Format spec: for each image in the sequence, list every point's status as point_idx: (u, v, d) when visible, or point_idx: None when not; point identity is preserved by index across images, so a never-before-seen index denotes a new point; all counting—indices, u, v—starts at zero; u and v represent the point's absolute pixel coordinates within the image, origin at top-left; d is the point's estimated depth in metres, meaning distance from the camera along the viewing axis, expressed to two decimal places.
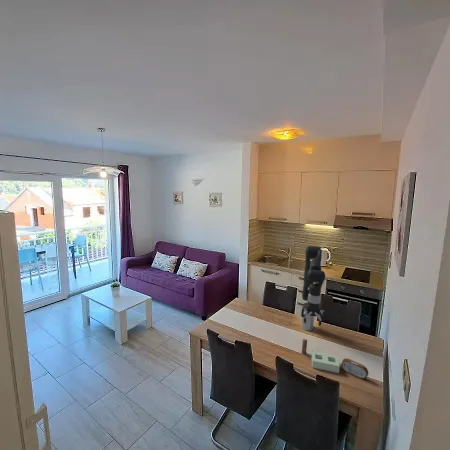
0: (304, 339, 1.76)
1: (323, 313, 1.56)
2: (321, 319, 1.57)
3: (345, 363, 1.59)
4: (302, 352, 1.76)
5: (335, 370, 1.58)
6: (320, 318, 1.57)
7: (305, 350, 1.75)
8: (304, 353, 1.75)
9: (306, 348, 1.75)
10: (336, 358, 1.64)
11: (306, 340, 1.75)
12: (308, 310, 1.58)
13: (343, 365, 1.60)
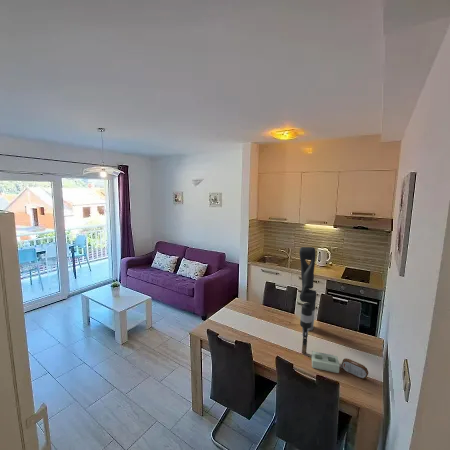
0: None
1: None
2: None
3: (345, 363, 1.59)
4: (302, 352, 1.76)
5: (335, 370, 1.58)
6: None
7: (305, 350, 1.75)
8: (304, 353, 1.75)
9: (306, 348, 1.75)
10: (336, 358, 1.64)
11: None
12: (307, 331, 1.70)
13: (343, 365, 1.60)
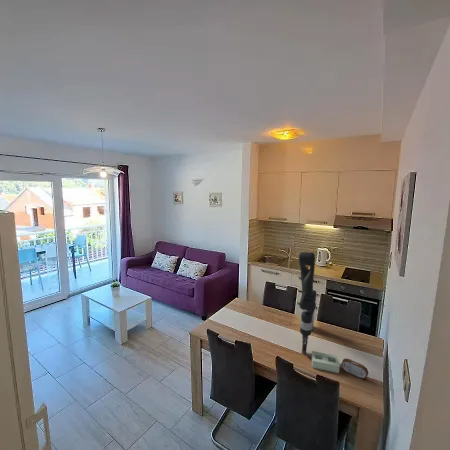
0: None
1: None
2: None
3: (345, 363, 1.59)
4: (302, 352, 1.76)
5: (335, 370, 1.58)
6: None
7: None
8: (304, 353, 1.75)
9: (306, 348, 1.75)
10: (336, 358, 1.64)
11: None
12: (307, 338, 1.71)
13: (343, 365, 1.60)
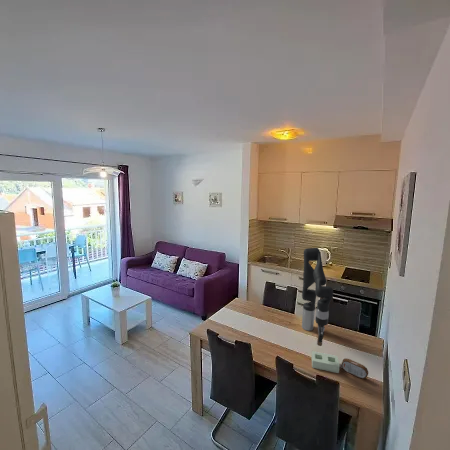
0: None
1: None
2: None
3: (345, 363, 1.59)
4: (318, 343, 1.63)
5: (335, 370, 1.58)
6: None
7: None
8: (320, 344, 1.62)
9: (322, 339, 1.62)
10: (336, 358, 1.64)
11: None
12: None
13: (343, 365, 1.60)
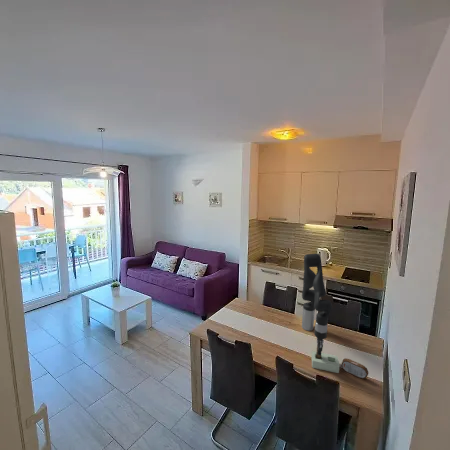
0: None
1: None
2: None
3: (345, 363, 1.59)
4: (317, 356, 1.65)
5: (335, 370, 1.58)
6: None
7: None
8: (319, 357, 1.64)
9: None
10: (336, 358, 1.64)
11: None
12: (322, 341, 1.60)
13: (343, 365, 1.60)
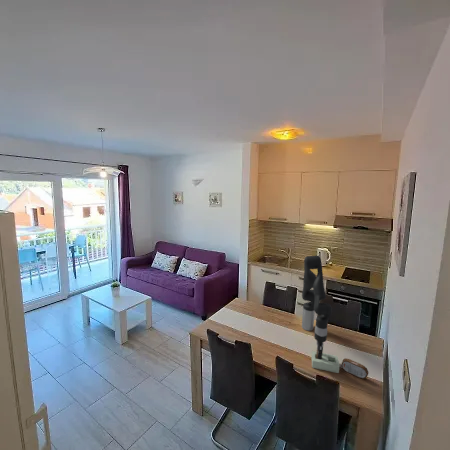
0: None
1: None
2: None
3: (345, 363, 1.59)
4: None
5: (335, 370, 1.58)
6: None
7: None
8: None
9: None
10: (336, 358, 1.64)
11: None
12: (322, 344, 1.60)
13: (343, 365, 1.60)
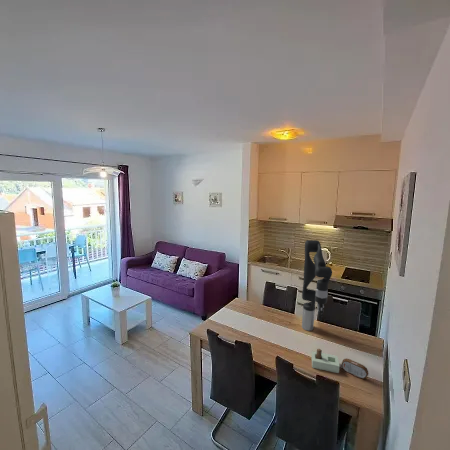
0: (318, 349, 1.65)
1: None
2: None
3: (345, 363, 1.59)
4: None
5: (335, 370, 1.58)
6: None
7: None
8: None
9: (320, 358, 1.65)
10: (336, 358, 1.64)
11: (320, 350, 1.64)
12: (322, 306, 1.66)
13: (343, 365, 1.60)
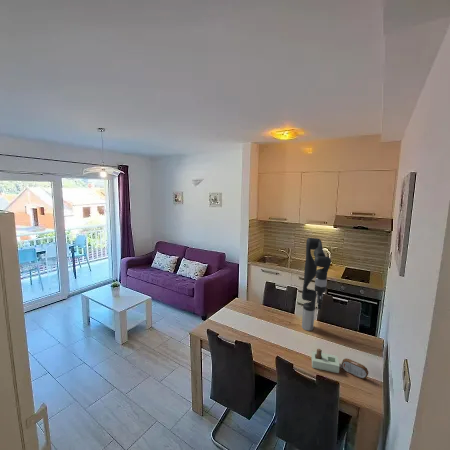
0: (318, 349, 1.65)
1: None
2: None
3: (345, 363, 1.59)
4: None
5: (335, 370, 1.58)
6: None
7: None
8: None
9: (320, 358, 1.65)
10: (336, 358, 1.64)
11: (320, 350, 1.64)
12: (321, 295, 1.71)
13: (343, 365, 1.60)
